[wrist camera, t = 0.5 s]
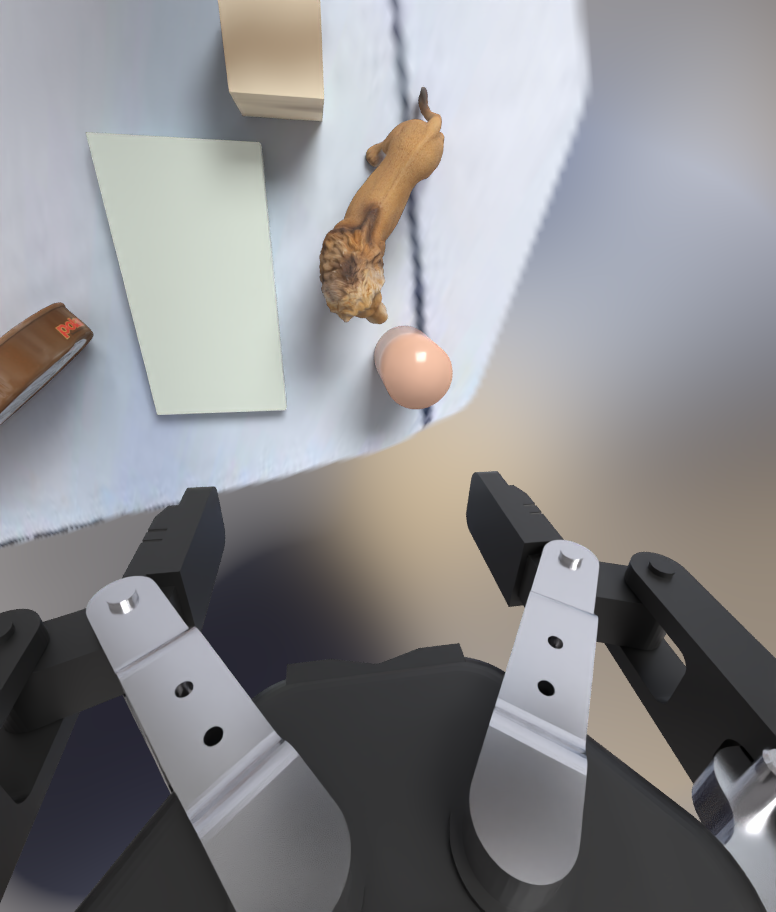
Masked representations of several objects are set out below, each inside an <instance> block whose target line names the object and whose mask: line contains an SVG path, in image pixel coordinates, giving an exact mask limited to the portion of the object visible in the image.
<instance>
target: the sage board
mask: <svg viewBox="0 0 776 912" xmlns="http://www.w3.org/2000/svg"><path fill="white" fill-rule="evenodd" d="M86 136H87V140H88V144H89V148H90V152H91V156H92V160H93V163H94V167H95V171H96V175H97V179H98V183H99V187H100V191H101V195H102V199H103V203H104V207H105V211H106V215H107V219H108V223H109V227H110V230H111V234H112V238H113V242H114V246H115V250H116V254H117V258H118V262H119V266H120V270H121V274H122V278H123V282H124V286H125V290H126V294H127V297H128V301H129V305H130V309H131V313H132V317H133V321H134V325H135V329H136V333H137V337H138V341H139V345H140V349H141V353H142V357H143V361H144V364H145V368H146V372H147V376H148V380H149V384H150V388H151V392H152V396H153V400H154V404H155V408H156V412H157V415H168V414H195V413H222V412H249V411H276V410H286V408H287V401H286V390H285V380H284V370H283V359H282V349H281V339H280V329H279V318H278V308H277V298H276V287H275V277H274V267H273V257H272V246H271V236H270V226H269V216H268V205H267V195H266V185H265V174H264V164H263V154H262V145H261V144H260V142H248V141H230V140H213V139H195V138H178V137H160V136H143V135H125V134H108V133H90V132H86Z"/></svg>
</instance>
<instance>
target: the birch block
mask: <svg viewBox="0 0 776 912" xmlns="http://www.w3.org/2000/svg"><path fill="white" fill-rule="evenodd" d="M218 5H219V13H220V22H221V30H222V38H223V47H224V55H225V63H226V71H227V80H228V88H229V93H230V95H231V96H232V98H233V100H234V102H235V103H236V105H237V107H238V109H239V110H240V112H241V114H242V116H249V117H264V118H280V119H295V120H310V121H322V118H323V105H324V87H323V61H322V36H321V10H320V0H218Z"/></svg>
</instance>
